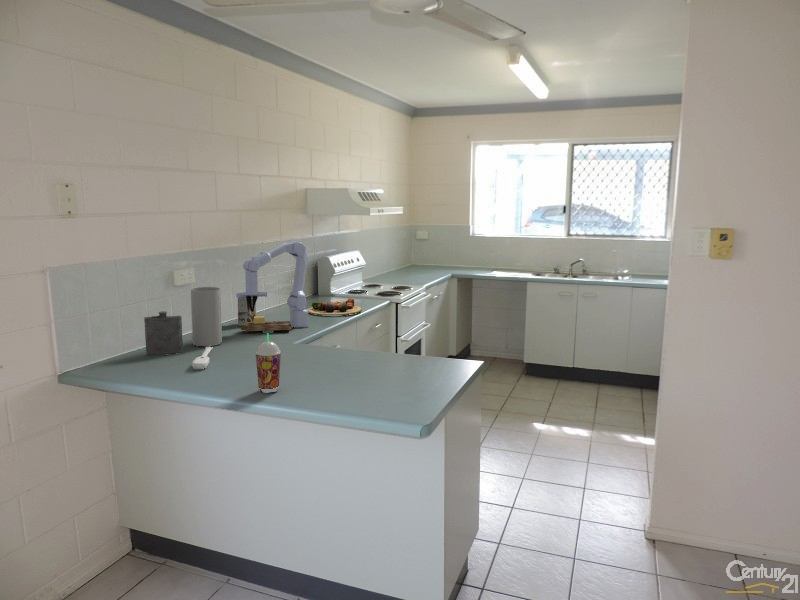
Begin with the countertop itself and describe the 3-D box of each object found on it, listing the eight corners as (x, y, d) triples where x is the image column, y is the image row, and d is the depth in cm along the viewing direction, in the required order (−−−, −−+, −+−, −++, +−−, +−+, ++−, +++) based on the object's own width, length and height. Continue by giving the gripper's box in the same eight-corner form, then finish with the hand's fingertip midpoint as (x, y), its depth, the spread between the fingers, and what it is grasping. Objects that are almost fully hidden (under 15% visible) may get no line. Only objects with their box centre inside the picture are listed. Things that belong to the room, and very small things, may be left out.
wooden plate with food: (346, 306, 369) (346, 293, 368) (371, 314, 342) (371, 300, 341) (299, 311, 352) (298, 297, 351) (320, 320, 326) (320, 305, 324)
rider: (264, 325, 292) (264, 316, 291) (264, 327, 287) (264, 318, 287) (254, 325, 291) (254, 316, 290) (254, 327, 286) (254, 318, 285)
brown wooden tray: (289, 326, 297) (289, 320, 296) (290, 329, 289) (290, 323, 289) (240, 327, 291) (240, 322, 290) (240, 331, 283) (240, 325, 283)
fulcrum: (272, 329, 295) (272, 326, 295) (273, 333, 287) (273, 330, 287) (262, 329, 294) (262, 327, 294) (262, 333, 286) (262, 330, 285)
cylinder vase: (225, 345, 261) (223, 290, 257) (196, 348, 254) (194, 291, 250) (218, 339, 271) (216, 286, 267) (190, 342, 265) (187, 287, 261)
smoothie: (258, 387, 203) (257, 330, 200) (282, 387, 204) (281, 330, 200) (254, 395, 195) (253, 336, 191) (279, 394, 195) (279, 336, 192)
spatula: (203, 353, 248) (202, 346, 247) (217, 352, 249) (216, 346, 248) (190, 370, 220) (190, 363, 220) (206, 370, 221) (206, 363, 221)
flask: (182, 354, 245) (181, 311, 242) (145, 356, 241) (143, 313, 238) (183, 351, 249) (181, 310, 246) (146, 353, 244) (144, 311, 241)
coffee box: (249, 326, 301) (248, 295, 299) (237, 326, 302) (236, 295, 300) (257, 323, 310) (256, 293, 307) (245, 322, 311) (245, 292, 309)
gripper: (235, 285, 279) (236, 313, 281) (267, 284, 283) (267, 312, 285) (236, 283, 286) (236, 310, 288) (266, 282, 290) (267, 309, 292)
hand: (252, 311), depth 287 cm, fingers closed
